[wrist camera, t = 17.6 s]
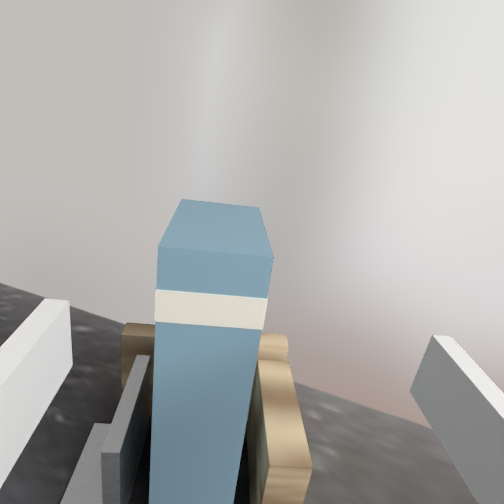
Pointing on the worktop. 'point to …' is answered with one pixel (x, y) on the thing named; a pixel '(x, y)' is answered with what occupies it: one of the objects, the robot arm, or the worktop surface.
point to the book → (206, 348)
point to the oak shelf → (253, 417)
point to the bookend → (114, 447)
